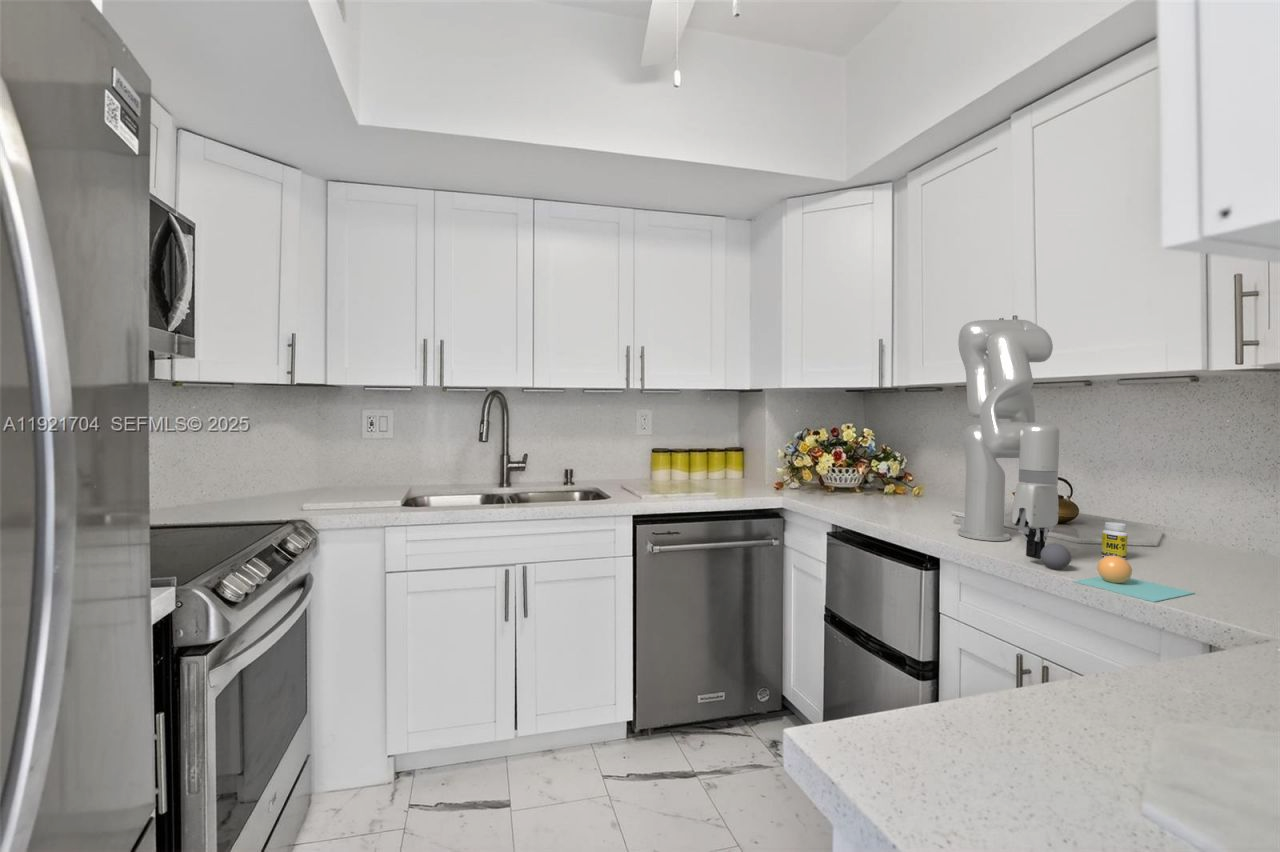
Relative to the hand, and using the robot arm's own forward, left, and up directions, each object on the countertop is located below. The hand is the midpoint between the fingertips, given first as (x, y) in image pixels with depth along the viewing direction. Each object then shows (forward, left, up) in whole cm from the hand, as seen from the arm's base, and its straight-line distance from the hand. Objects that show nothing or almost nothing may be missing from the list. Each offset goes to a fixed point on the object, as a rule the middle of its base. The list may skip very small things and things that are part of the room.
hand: (1035, 557), depth 138 cm
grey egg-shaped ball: (+4, 0, +1) cm, 5 cm away
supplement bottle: (+4, +24, -2) cm, 24 cm away
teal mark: (+20, 0, -2) cm, 20 cm away
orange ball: (+16, 0, +1) cm, 16 cm away
